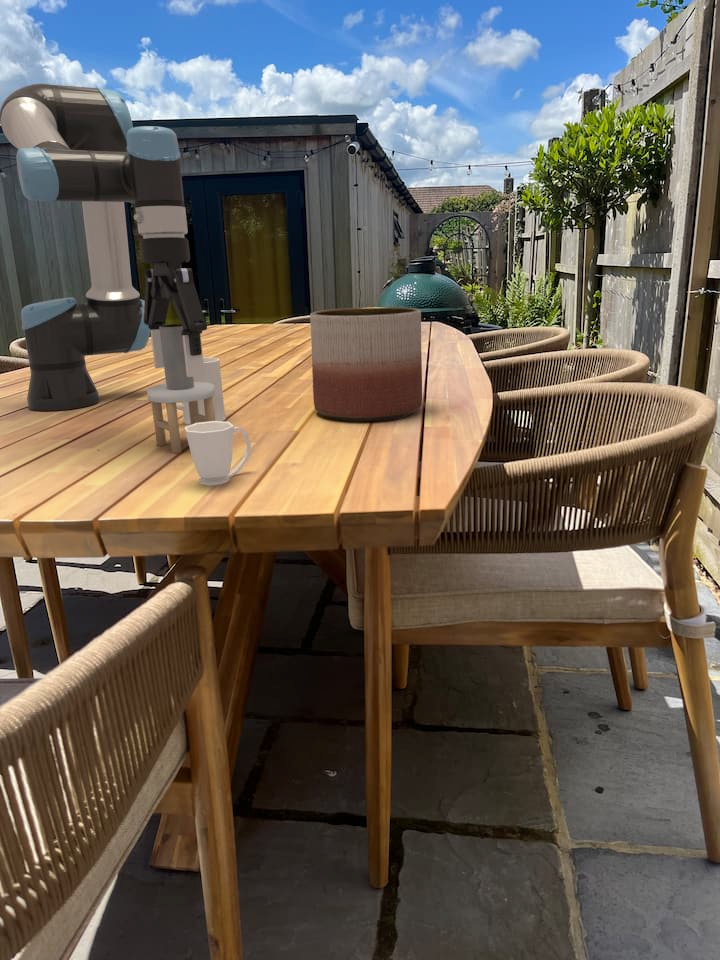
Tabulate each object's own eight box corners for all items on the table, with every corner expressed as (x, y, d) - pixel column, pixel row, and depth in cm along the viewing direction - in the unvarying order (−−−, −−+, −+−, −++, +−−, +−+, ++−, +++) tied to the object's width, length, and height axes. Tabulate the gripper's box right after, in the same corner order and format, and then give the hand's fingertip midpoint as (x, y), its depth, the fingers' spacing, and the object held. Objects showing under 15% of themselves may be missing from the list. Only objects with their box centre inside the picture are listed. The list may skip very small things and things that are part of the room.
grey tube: (171, 385, 117) (164, 324, 114) (197, 384, 117) (190, 323, 114) (163, 390, 113) (155, 327, 110) (190, 389, 113) (183, 326, 109)
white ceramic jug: (172, 430, 129) (165, 366, 125) (161, 421, 136) (154, 361, 132) (232, 421, 134) (226, 360, 131) (218, 413, 141) (212, 355, 138)
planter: (363, 429, 124) (360, 317, 118) (292, 412, 140) (286, 313, 134) (444, 410, 138) (445, 308, 132) (371, 396, 154) (369, 305, 148)
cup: (180, 481, 98) (173, 427, 95) (238, 466, 105) (233, 414, 102) (206, 492, 93) (200, 435, 91) (265, 475, 100) (261, 421, 97)
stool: (144, 444, 119) (137, 387, 116) (203, 433, 125) (197, 379, 122) (169, 457, 111) (161, 396, 107) (230, 445, 117) (224, 387, 114)
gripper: (113, 240, 115) (130, 366, 121) (171, 233, 96) (188, 383, 102) (156, 240, 119) (171, 361, 126) (220, 232, 100) (233, 376, 107)
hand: (178, 371), depth 114 cm, fingers open, 13 cm apart
